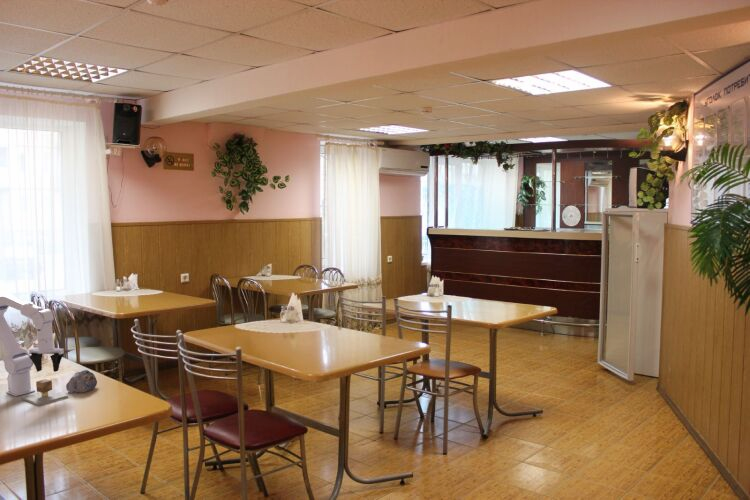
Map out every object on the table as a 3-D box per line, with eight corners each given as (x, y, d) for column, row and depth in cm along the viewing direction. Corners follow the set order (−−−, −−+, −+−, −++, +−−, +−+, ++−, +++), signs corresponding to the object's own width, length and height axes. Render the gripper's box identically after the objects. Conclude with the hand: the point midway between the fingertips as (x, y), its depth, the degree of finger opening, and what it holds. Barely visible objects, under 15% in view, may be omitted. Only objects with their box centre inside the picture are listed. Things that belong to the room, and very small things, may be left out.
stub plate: (22, 399, 255) (21, 392, 255) (51, 391, 265) (51, 384, 265) (37, 405, 247) (37, 398, 247) (68, 397, 256) (67, 390, 256)
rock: (101, 380, 271) (89, 363, 266) (90, 397, 263) (78, 381, 257) (80, 384, 274) (68, 367, 268) (69, 401, 265) (56, 385, 260)
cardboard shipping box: (43, 392, 253) (42, 383, 252) (36, 391, 255) (36, 381, 254) (52, 389, 256) (51, 380, 256) (45, 388, 258) (45, 379, 258)
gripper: (67, 336, 261) (69, 368, 262) (35, 336, 263) (38, 368, 264) (56, 340, 254) (59, 373, 255) (24, 340, 256) (26, 372, 257)
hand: (47, 371), depth 259 cm, fingers open, 7 cm apart
